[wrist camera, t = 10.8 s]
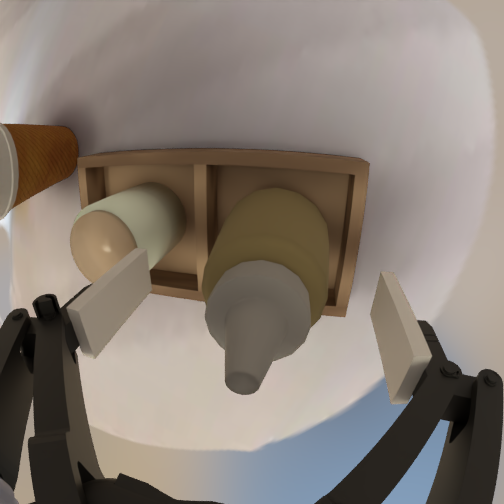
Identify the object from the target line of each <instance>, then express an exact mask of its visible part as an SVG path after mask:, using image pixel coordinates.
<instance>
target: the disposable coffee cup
mask: <svg viewBox="0 0 504 504" xmlns="http://www.w3.org/2000/svg"><path fill="white" fill-rule="evenodd" d="M77 158H78V144H77V140H76V137H75V135H74V134H73V132H72V131H71V130H70V129H68V128H67V127H63V126H49V125H29V124H2V123H0V220H1V219H3V218H4V217H5V216H6V215H7V213H9V211H10V210H11V209H12V208H14V207H15V206H17V205H18V204H20V203H22V202H24V201H25V200H26V199H29V198H30V197H32V196H34V195H36V194H37V193H39V192H41V191H43V190H45V189H47V188H48V187H50V186H52V185H54V184H56V183H58V182H60V181H62V180H63V179H66V178H68V177H69V176H70V175H71V174H72V173H73V172H74V170H75V167H76V165H77Z"/></svg>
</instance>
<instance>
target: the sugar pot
mask: <svg viewBox="0 0 504 504" xmlns="http://www.w3.org/2000/svg"><path fill="white" fill-rule="evenodd" d="M185 229H186V214H185V210H184V207H183V205H182V203H181V201H180V199H179V198H178V196H177V195H176V194H175V193H174V192H173V191H172V190H171V189H169V188H168V187H166V186H165V185H162V184H160V183H156V182H146V183H142V184H139V185H137V186H134V187H131V188H129V189H126V190H124V191H121V192H119V193H117V194H114V195H112V196H109V197H107V198H104V199H102V200H100V201H97V202H95V203H93V204H91V205H88V206H86V207H85V208H83V209H82V210H81V211H80V212H79V214H78V215H77V217H76V219H75V221H74V224H73V228H72V231H71V236H70V246H71V251H72V255H73V258H74V260H75V263H76V265H77V266H78V268H79V270H80V271H81V272H82V274H83V275H84V276H85V277H86V278H87V279H88V280H89V281H90V282H92V283H94V282H96V281H97V280H98V279H99V278H100V277H101V276H103V275H104V274H105V273H106V272H107V271H108V270H110V269H111V268H112V267H113V266H114V265H116V264H117V263H118V262H119V261H120V260H122V259H123V258H124V257H125V256H126V255H128V254H129V253H130V252H131V251H133V250H134V249H135V248H141V249H147V256H148V264H149V271H150V270H151V269H152V268H153V267H154V266H155V265H156V264H157V263H158V262H159V261H160V260H161V259H162V258H163V257H164V256H165V255H166V254H168V253H169V252H170V251H171V250H172V249H173V248H174V247H175V246H176V245H177V244H178V243H179V242H180V241H181V239H182V237H183V235H184V232H185Z"/></svg>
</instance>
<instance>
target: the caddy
mask: <svg viewBox="0 0 504 504" xmlns="http://www.w3.org/2000/svg"><path fill="white" fill-rule="evenodd" d="M369 165H370V163H369V162H367V161H365V160H363V159H361V158H354V157H346V156H337V155H328V154H318V153H306V152H293V151H278V150H259V149H229V148H180V149H149V150H131V151H116V152H104V153H98V154H93V155H88V156H83V157H79V158H77V166H78V179H79V190H80V200H81V208H82V209H83V208H85V207H86V206H88V205H91V204H93V203H95V202H97V201H100V200H102V199H104V198H107V197H109V196H112V195H114V194H117V193H119V192H121V191H124V190H126V189H129V188H131V187H134V186H137V185H139V184H142V183H146V182H156V183H160V184H162V185H165V186H166V187H168V188H169V189H171V190H172V191H173V192H174V193H175V194H176V195H177V196H178V198H179V199H180V201H181V203H182V205H183V207H184V210H185V214H186V229H185V232H184V235H183V237H182V239H181V241H180V242H179V243H178V244H177V245H176V246H175V247H174V248H173V249H172V250H171V251H170V252H169V253H168V254H166V255H165V256H164V257H163V258H162V259H161V260H160V261H159V262H158V263H157V264H156V265H155V266H154V267H153V268H152V269H151V270H150V279H151V286H152V291H151V292H150V293H152V294H159V295H165V296H171V297H177V298H184V299H190V300H197V301H204V302H205V300H204V296H203V293H202V289H201V288H202V281H203V274H204V268H205V265H206V263H207V260H208V258H209V256H210V254H211V251H212V249H213V247H214V244H215V242H216V240H217V238H218V235H219V233H220V231H221V229H222V226H223V224H224V222H225V220H226V218H227V217H228V215H229V214H230V212H231V211H232V209H233V208H234V206H235V205H236V203H237V202H238V201H240V200H242V199H243V198H245V197H246V196H248V195H250V194H251V193H253V192H254V191H258V190H264V189H271V188H281V189H285V190H289V191H293V192H297V193H300V194H301V195H302V196H304V197H305V198H306V199H308V200H309V201H310V202H312V203H313V204H314V205H316V206H317V208H318V210H319V211H320V213H321V215H322V216H323V218H324V220H325V222H326V223H327V228H328V237H329V281H328V299H327V302H326V304H325V307H324V310H323V312H322V315H326V316H338V317H345V316H346V311H347V307H348V302H349V297H350V292H351V287H352V282H353V277H354V272H355V266H356V261H357V255H358V249H359V243H360V237H361V230H362V224H363V217H364V209H365V201H366V193H367V185H368V175H369Z"/></svg>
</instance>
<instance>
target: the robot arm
mask: <svg viewBox="0 0 504 504" xmlns="http://www.w3.org/2000/svg"><path fill="white" fill-rule="evenodd" d="M151 291H152V286H151V279H150V271H149V264H148V256H147V249H141V248H135V249H134V250H133V251H131V252H130V253H129V254H128V255H126V256H125V257H124V258H123V259H122V260H120V261H119V262H118V263H117V264H116V265H114V266H113V267H112V268H111V269H110V270H108V271H107V272H106V273H105V274H104V275H103V276H101V277H100V278H99V279H98V280H97V281H96V282H94V283H93V284H90V285H88V286H86V287H84V288H83V289H82V290H81V291H80V292H78V294H76V295H75V296H74V298H72V299H70V300H69V301H68V302H67V303H66V304H65V305H64V306H63V307H61V308H60V307H59V304H58V300H57V297H56V296H55V295H54V294H45V295H42V296H39V297H38V298H36V299H35V300H34V301H33V303H32V305H33V307H34V310H35V313H36V316H37V318H33V317H30V316H29V314H28V311H27V310H26V309H24V308H20V309H16V310H13V311H12V312H11V313H9V315H8V316H7V318H6V320H5V321H4V323H3V325H2V327H1V328H0V504H19V503H18V501H17V500H16V499H15V497H14V493H13V492H14V489H15V485H16V482H17V478H18V472H19V465H20V458H21V452H22V446H23V440H24V434H25V430H26V424H27V420H28V415H29V411H30V407H31V403H32V399H33V406H34V429H35V436H34V437H30V438H29V439H28V450H29V461H30V470H31V477H32V483H33V490H34V496H35V501H36V502H33V503H30V504H223V503H218V502H213V501H183V500H176V499H173V498H172V497H170V496H168V495H166V494H164V493H163V492H161V491H159V490H158V489H156V488H154V487H153V486H151V485H149V484H148V483H145V482H142V481H140V480H137V479H134V478H132V477H129V476H126V475H124V474H121V473H120V474H119V476H118V477H117V479H114V478H104V476H103V474H102V472H101V470H100V468H99V465H98V461H97V458H96V454H95V450H94V446H93V442H92V438H91V434H90V429H89V424H88V420H87V415H86V409H85V404H84V398H83V393H82V386H81V380H80V372H79V365H78V356H77V353H76V351H75V350H76V349H77V348H78V347H79V346H80V348H81V351H82V354H83V355H85V356H88V357H90V358H93V359H95V358H96V357H97V356H98V355H99V353H100V352H101V351H102V350H103V348H104V347H105V346H106V345H107V343H108V342H109V341H110V340H111V339H112V337H113V336H114V335H115V334H116V332H117V331H118V330H119V329H120V328H121V326H122V325H123V324H124V323H125V322H126V320H127V319H128V318H129V317H130V316H131V314H132V313H133V312H134V311H135V310H136V308H137V307H138V306H139V305H140V304H141V302H142V301H143V300H144V299H145V298H146V297H147V295H148V294H149V293H150V292H151ZM370 316H371V319H372V323H373V327H374V331H375V335H376V339H377V343H378V347H379V351H380V355H381V360H382V364H383V369H384V373H385V378H386V383H387V387H388V392H389V397H390V403H391V404H407V403H408V401H409V399H410V397H411V396H412V395H413V398H412V400H411V401H410V402H409V404H408V405H407V406H406V408H405V409H404V410H403V412H402V413H401V415H400V416H399V417H398V418H397V420H396V421H395V422H394V423H393V425H392V426H391V427H390V428H389V430H388V431H387V432H386V433H385V435H384V436H383V437H382V438H381V439H380V440H379V442H378V443H377V444H376V445H375V446H374V447H373V449H372V450H371V451H370V452H369V453H368V454H367V455H366V456H365V457H364V459H363V460H362V461H361V462H360V463H359V464H358V465H357V466H356V467H355V468H354V469H353V470H352V471H351V472H350V473H349V474H348V475H347V476H346V477H345V478H344V479H343V480H342V481H341V482H340V483H339V484H338V485H337V486H336V487H335V488H334V489H333V490H332V491H330V492H329V493H328V494H327V495H325V496H323V497H322V498H321V499H319V500H318V501H317V502H316V503H315V504H381V503H382V502H383V501H384V500H385V498H386V497H387V496H388V495H389V494H390V493H391V491H392V490H393V489H394V488H395V486H396V485H397V484H398V482H399V481H400V480H401V478H402V477H403V476H404V474H405V473H406V472H407V470H408V469H409V468H410V466H411V465H412V463H413V462H414V460H415V459H416V458H417V456H418V455H419V453H420V452H421V450H422V448H423V447H424V445H425V444H426V442H427V441H428V439H429V437H430V436H431V434H432V433H433V431H434V429H435V428H436V426H437V424H438V422H439V421H440V419H442V420H447V421H450V423H449V427H448V432H447V436H446V440H445V444H444V448H443V452H442V456H441V459H440V463H439V466H438V470H437V473H436V476H435V479H434V482H433V485H432V488H431V491H430V494H429V496H428V499H427V502H426V504H492V501H493V496H494V491H495V486H496V480H497V474H498V467H499V459H500V451H501V440H502V425H503V382H502V379H501V377H500V376H499V375H498V374H497V373H496V372H494V371H492V370H490V369H484V370H481V371H480V372H479V374H478V375H477V377H473V376H468V375H464V374H462V372H461V369H460V368H459V367H458V365H456V364H455V363H453V362H451V361H448V360H447V358H446V356H445V353H444V351H443V349H442V347H441V345H440V343H439V342H438V341H439V340H438V338H437V336H436V334H435V332H434V330H433V328H432V327H431V326H430V325H429V324H428V323H427V322H426V321H421V320H416V317H415V315H414V313H413V311H412V309H411V307H410V305H409V302H408V300H407V298H406V296H405V294H404V292H403V290H402V288H401V286H400V284H399V282H398V280H397V278H396V276H395V274H394V273H392V272H381V273H380V277H379V281H378V286H377V290H376V294H375V298H374V302H373V305H372V309H371V313H370ZM20 351H21V353H20Z"/></svg>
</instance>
